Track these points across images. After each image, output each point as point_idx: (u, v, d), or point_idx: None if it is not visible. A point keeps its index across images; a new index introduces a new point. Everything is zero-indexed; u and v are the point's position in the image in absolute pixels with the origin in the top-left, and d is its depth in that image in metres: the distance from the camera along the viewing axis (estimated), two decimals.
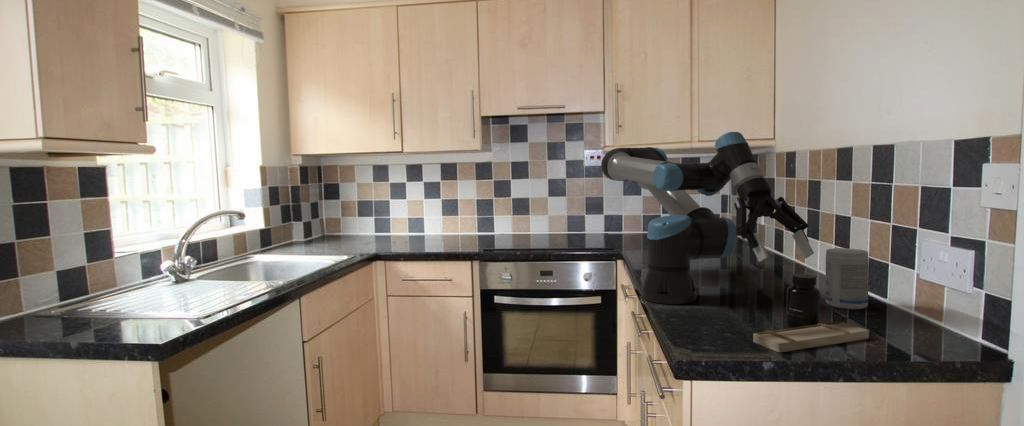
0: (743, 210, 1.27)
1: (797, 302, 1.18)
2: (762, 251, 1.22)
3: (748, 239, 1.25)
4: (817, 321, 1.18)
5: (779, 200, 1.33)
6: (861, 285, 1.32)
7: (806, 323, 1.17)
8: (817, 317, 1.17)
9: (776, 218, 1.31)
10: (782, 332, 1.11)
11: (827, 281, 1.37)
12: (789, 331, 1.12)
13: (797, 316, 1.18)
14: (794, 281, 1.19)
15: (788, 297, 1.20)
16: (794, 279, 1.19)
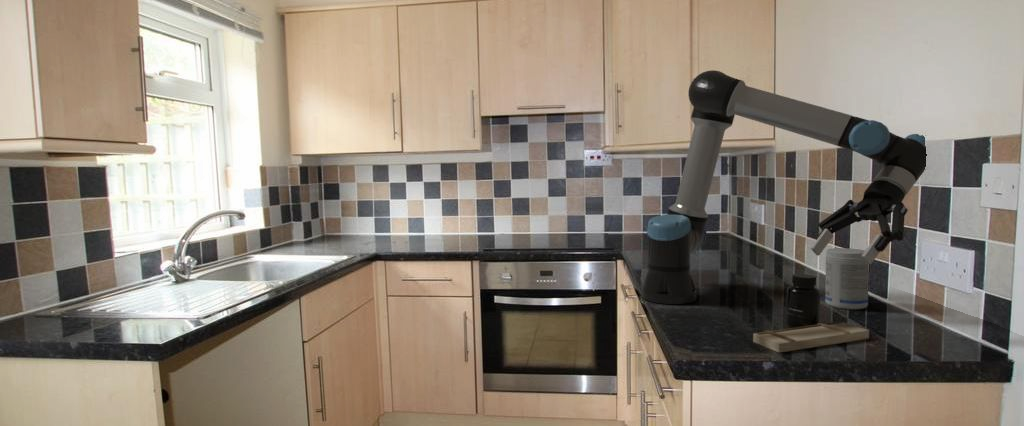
0: None
1: (797, 302, 1.18)
2: (874, 257, 1.16)
3: (886, 241, 1.15)
4: (817, 321, 1.18)
5: None
6: (861, 285, 1.32)
7: (806, 323, 1.17)
8: (817, 317, 1.17)
9: (850, 217, 1.27)
10: (782, 332, 1.11)
11: (827, 281, 1.37)
12: (789, 331, 1.12)
13: (797, 316, 1.18)
14: (794, 281, 1.19)
15: (788, 297, 1.20)
16: (794, 279, 1.19)
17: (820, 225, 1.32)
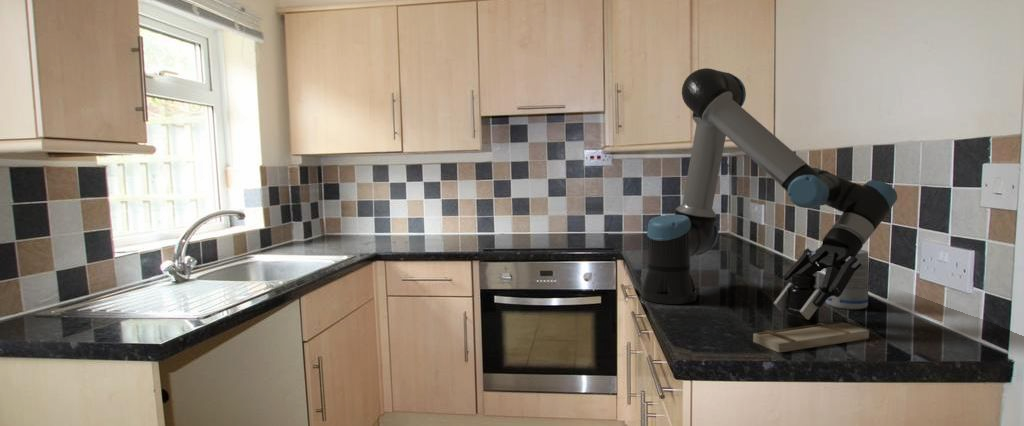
0: None
1: (797, 301, 1.18)
2: (812, 313, 1.16)
3: (823, 297, 1.15)
4: (817, 321, 1.18)
5: None
6: (861, 285, 1.32)
7: (806, 323, 1.17)
8: (817, 317, 1.17)
9: (811, 267, 1.23)
10: (782, 332, 1.11)
11: None
12: (789, 331, 1.12)
13: (797, 316, 1.18)
14: (794, 281, 1.19)
15: (788, 297, 1.20)
16: (794, 279, 1.19)
17: (785, 277, 1.26)
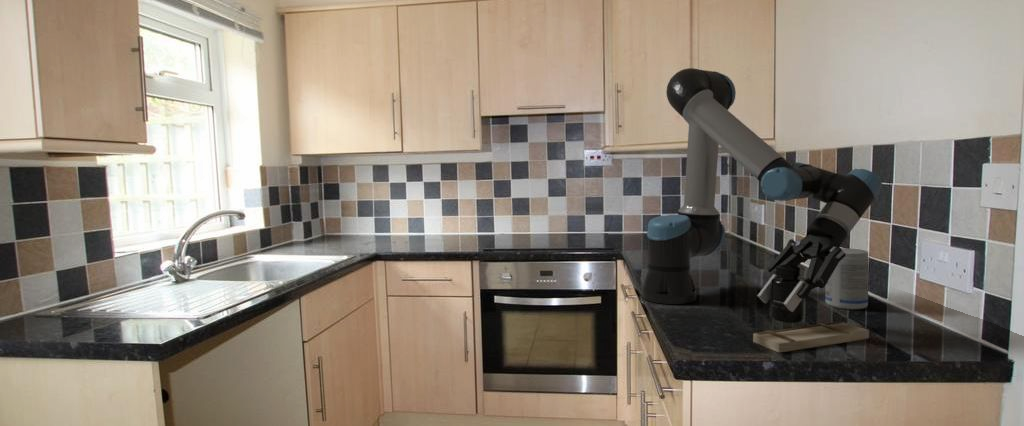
0: None
1: (781, 293, 1.15)
2: (796, 305, 1.13)
3: (807, 289, 1.12)
4: (801, 313, 1.15)
5: None
6: (861, 285, 1.32)
7: (791, 315, 1.15)
8: (801, 309, 1.15)
9: (796, 257, 1.20)
10: (782, 332, 1.11)
11: None
12: (789, 331, 1.12)
13: (781, 309, 1.15)
14: (778, 272, 1.17)
15: (772, 289, 1.17)
16: (778, 270, 1.17)
17: (769, 269, 1.23)
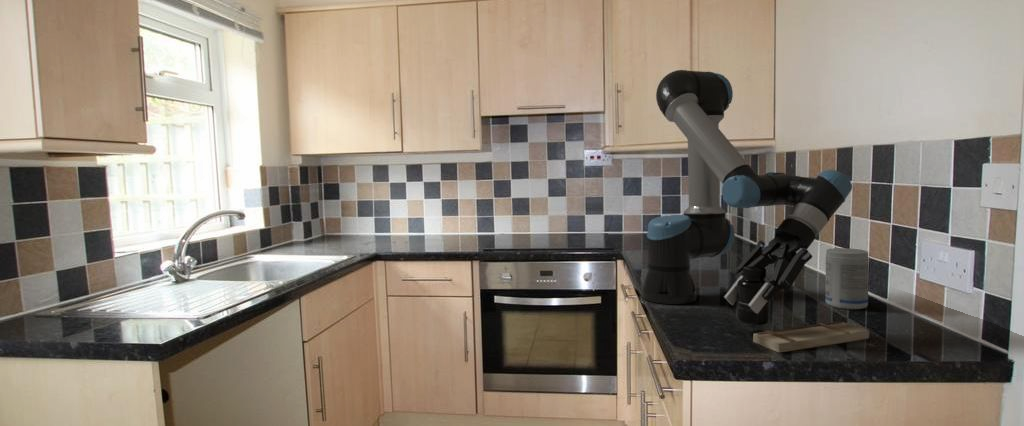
0: None
1: (747, 295, 1.13)
2: (761, 307, 1.11)
3: (773, 290, 1.10)
4: (767, 315, 1.13)
5: None
6: (861, 285, 1.32)
7: (756, 317, 1.13)
8: (767, 311, 1.13)
9: (763, 259, 1.18)
10: (782, 332, 1.11)
11: (827, 281, 1.37)
12: (789, 331, 1.12)
13: (747, 310, 1.14)
14: (744, 274, 1.15)
15: (738, 290, 1.16)
16: (744, 272, 1.15)
17: (737, 270, 1.21)
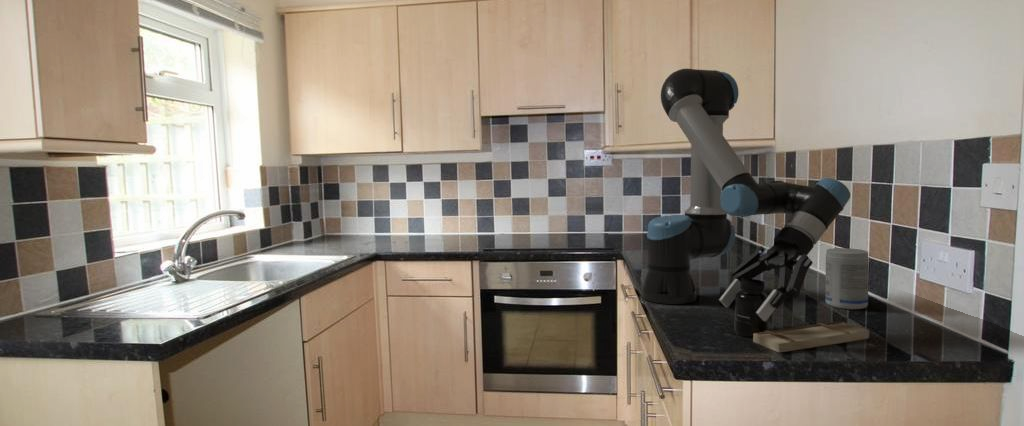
0: None
1: (745, 308, 1.13)
2: (769, 314, 1.10)
3: (781, 298, 1.09)
4: (765, 328, 1.13)
5: None
6: (861, 285, 1.32)
7: (754, 330, 1.13)
8: (765, 324, 1.13)
9: (759, 265, 1.19)
10: (782, 332, 1.11)
11: (827, 281, 1.37)
12: (789, 331, 1.12)
13: (745, 323, 1.14)
14: (742, 286, 1.15)
15: (736, 303, 1.16)
16: (742, 284, 1.15)
17: (732, 274, 1.24)
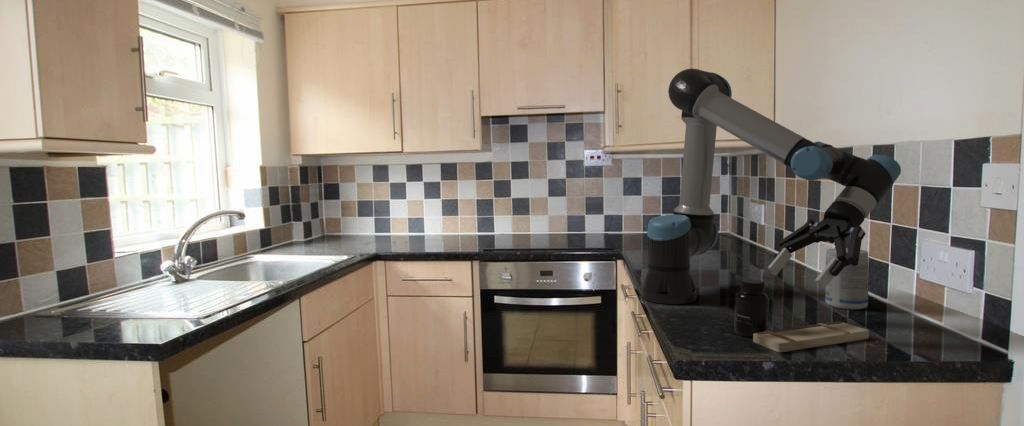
0: None
1: (745, 308, 1.14)
2: (827, 282, 1.13)
3: (840, 266, 1.12)
4: (765, 328, 1.13)
5: None
6: (861, 285, 1.32)
7: (754, 330, 1.13)
8: (765, 324, 1.13)
9: (809, 237, 1.24)
10: (782, 332, 1.11)
11: None
12: (789, 331, 1.12)
13: (744, 323, 1.14)
14: (742, 286, 1.15)
15: (736, 303, 1.16)
16: (742, 284, 1.15)
17: (779, 244, 1.29)
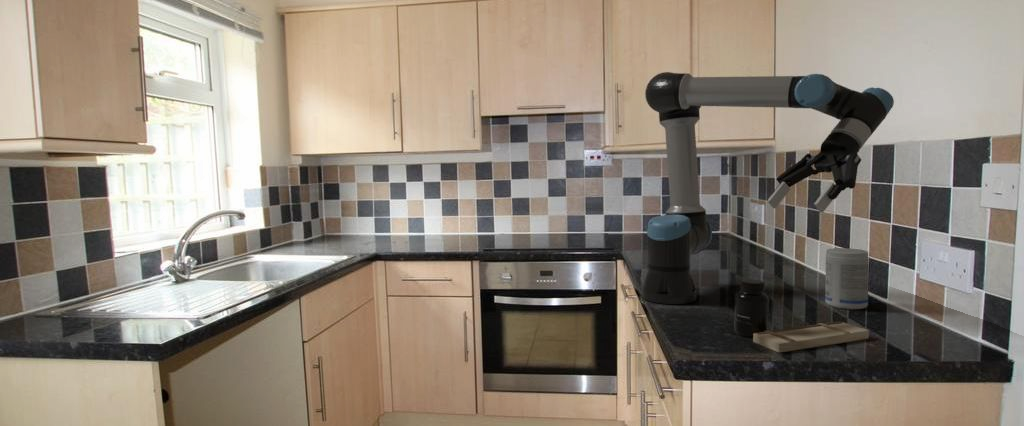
0: None
1: (745, 308, 1.14)
2: (826, 206, 1.16)
3: (838, 189, 1.15)
4: (765, 328, 1.13)
5: None
6: (861, 285, 1.32)
7: (754, 330, 1.13)
8: (765, 324, 1.13)
9: (806, 169, 1.27)
10: (782, 332, 1.11)
11: (827, 281, 1.37)
12: (789, 331, 1.12)
13: (744, 323, 1.14)
14: (742, 286, 1.15)
15: (736, 303, 1.16)
16: (742, 284, 1.15)
17: (778, 179, 1.32)
